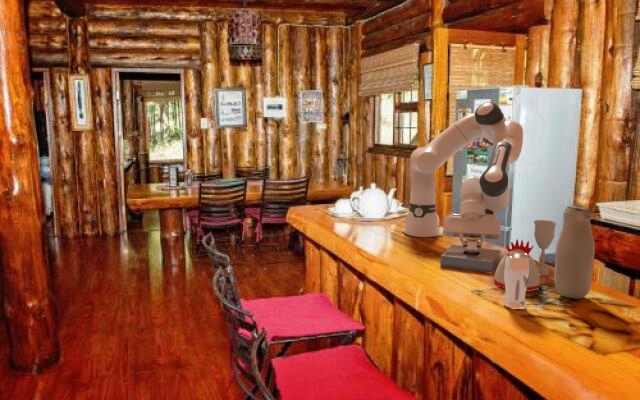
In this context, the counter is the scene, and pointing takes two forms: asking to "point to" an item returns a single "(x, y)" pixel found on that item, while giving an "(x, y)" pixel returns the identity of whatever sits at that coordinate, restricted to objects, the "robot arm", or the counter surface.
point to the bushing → (471, 245)
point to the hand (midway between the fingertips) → (471, 246)
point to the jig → (471, 259)
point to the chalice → (544, 240)
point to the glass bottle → (574, 253)
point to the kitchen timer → (534, 274)
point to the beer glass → (516, 278)
